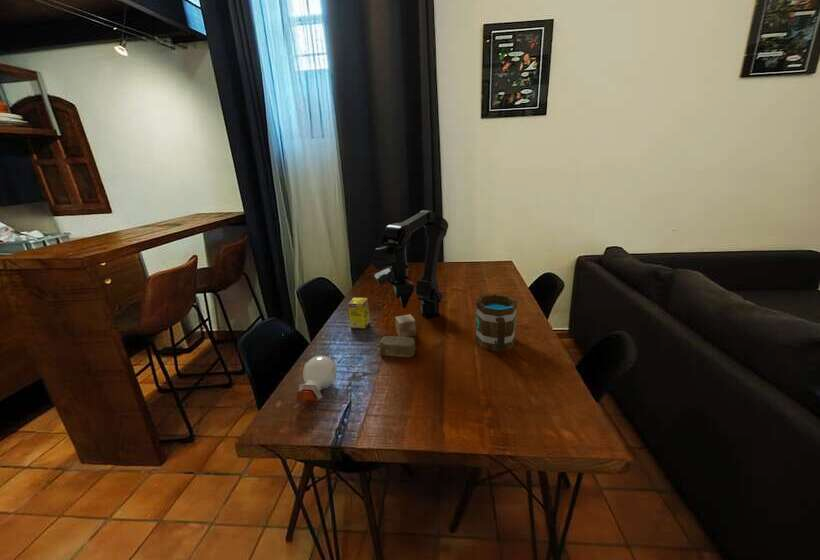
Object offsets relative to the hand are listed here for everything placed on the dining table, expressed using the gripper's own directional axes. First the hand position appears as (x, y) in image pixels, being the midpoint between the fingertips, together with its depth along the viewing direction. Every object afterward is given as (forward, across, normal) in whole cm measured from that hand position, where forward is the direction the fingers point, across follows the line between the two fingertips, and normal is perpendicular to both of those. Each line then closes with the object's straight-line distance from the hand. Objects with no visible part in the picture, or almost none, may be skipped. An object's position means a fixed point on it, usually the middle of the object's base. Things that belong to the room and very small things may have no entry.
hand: (401, 302), depth 124 cm
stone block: (+12, +13, -5) cm, 19 cm away
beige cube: (+12, +1, +1) cm, 12 cm away
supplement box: (+12, -11, -15) cm, 22 cm away
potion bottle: (+12, +26, -31) cm, 42 cm away
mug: (+12, +20, +27) cm, 36 cm away
